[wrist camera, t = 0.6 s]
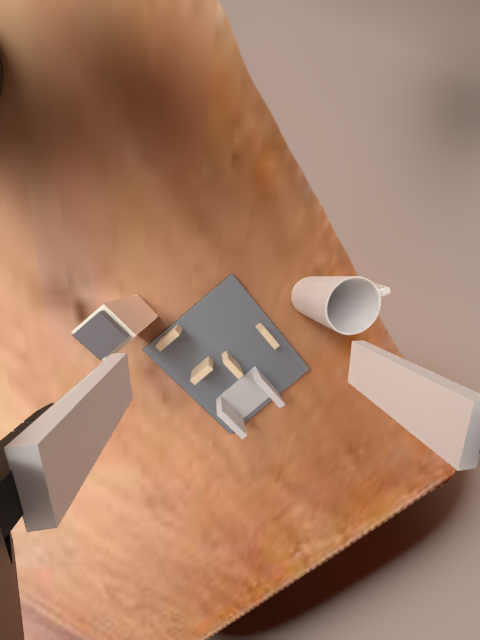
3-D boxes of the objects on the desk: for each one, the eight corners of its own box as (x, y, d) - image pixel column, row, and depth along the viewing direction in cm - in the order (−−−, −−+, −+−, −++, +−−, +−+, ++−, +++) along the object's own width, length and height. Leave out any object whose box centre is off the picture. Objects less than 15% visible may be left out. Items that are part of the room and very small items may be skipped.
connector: (114, 313, 34) (65, 334, 22) (137, 293, 34) (98, 305, 22) (137, 334, 35) (100, 366, 23) (158, 316, 35) (133, 338, 23)
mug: (294, 321, 38) (331, 342, 26) (284, 282, 36) (319, 287, 25) (349, 302, 38) (410, 315, 27) (342, 263, 37) (403, 259, 25)
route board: (144, 348, 36) (132, 361, 30) (231, 273, 35) (235, 273, 30) (230, 431, 41) (233, 454, 35) (308, 367, 40) (322, 381, 35)
